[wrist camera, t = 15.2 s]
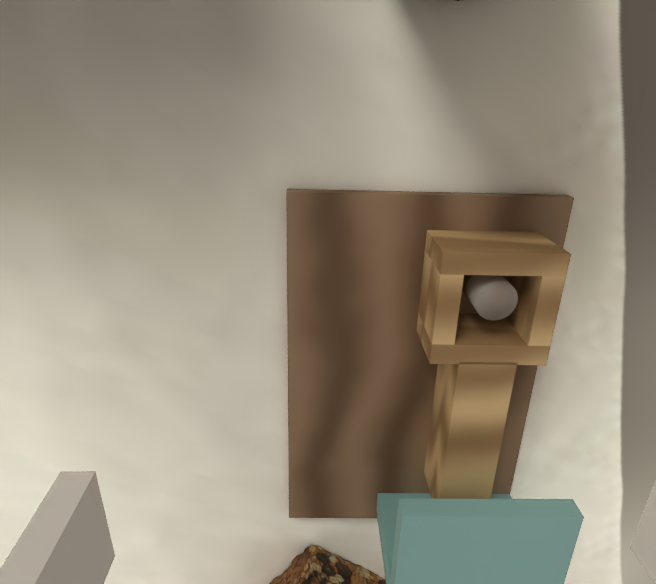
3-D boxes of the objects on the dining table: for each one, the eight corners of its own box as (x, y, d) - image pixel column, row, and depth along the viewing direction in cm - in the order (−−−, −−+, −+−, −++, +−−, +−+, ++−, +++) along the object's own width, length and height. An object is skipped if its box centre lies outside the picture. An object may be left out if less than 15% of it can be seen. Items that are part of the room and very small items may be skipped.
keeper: (375, 501, 46) (390, 618, 36) (382, 413, 42) (402, 516, 32) (502, 502, 47) (553, 618, 36) (520, 414, 43) (583, 516, 33)
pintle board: (289, 508, 46) (286, 560, 41) (287, 189, 35) (281, 206, 30) (500, 510, 47) (522, 561, 42) (567, 194, 35) (608, 213, 30)
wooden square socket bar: (491, 472, 44) (511, 517, 39) (401, 471, 44) (411, 517, 39) (538, 232, 35) (570, 254, 31) (427, 229, 35) (443, 251, 31)
